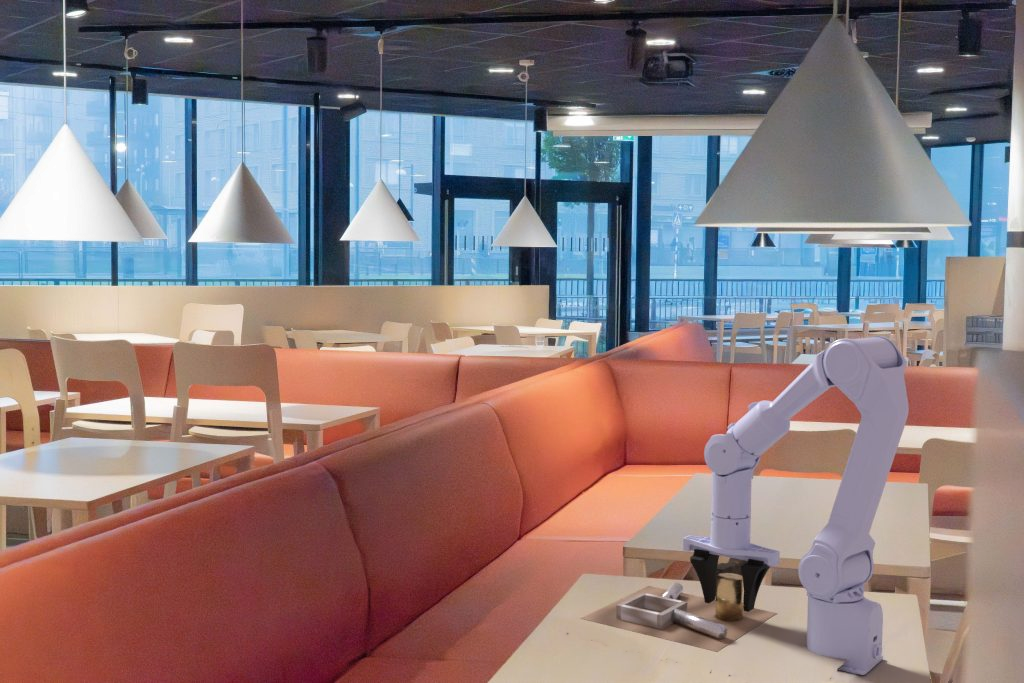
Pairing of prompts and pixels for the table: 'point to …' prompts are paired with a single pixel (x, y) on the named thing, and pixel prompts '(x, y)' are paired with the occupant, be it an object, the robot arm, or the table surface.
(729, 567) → the hand tool
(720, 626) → the shaft
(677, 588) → the shaft
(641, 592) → the plate
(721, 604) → the brass cylinder
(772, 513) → the table surface
